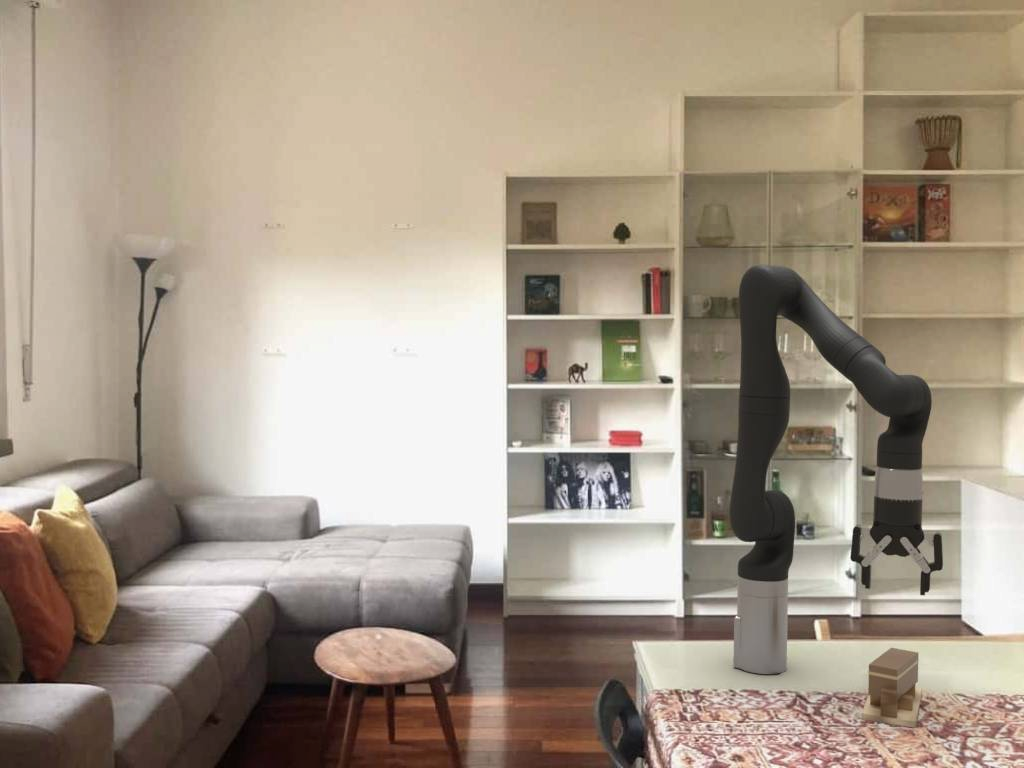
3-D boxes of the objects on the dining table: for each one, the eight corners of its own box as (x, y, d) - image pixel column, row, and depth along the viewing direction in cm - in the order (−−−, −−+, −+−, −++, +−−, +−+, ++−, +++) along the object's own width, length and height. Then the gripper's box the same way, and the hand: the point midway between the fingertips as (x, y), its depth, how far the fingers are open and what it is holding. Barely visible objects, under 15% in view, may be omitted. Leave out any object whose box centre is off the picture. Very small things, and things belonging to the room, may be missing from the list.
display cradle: (861, 719, 156) (862, 688, 156) (872, 685, 173) (873, 657, 172) (915, 727, 153) (916, 696, 153) (921, 692, 169) (922, 664, 169)
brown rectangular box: (867, 694, 159) (868, 664, 159) (890, 675, 169) (891, 647, 169) (896, 700, 156) (897, 670, 156) (918, 681, 166) (918, 652, 166)
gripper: (850, 494, 161) (847, 591, 162) (944, 501, 155) (940, 601, 156) (855, 488, 168) (852, 581, 169) (945, 495, 162) (942, 591, 163)
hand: (895, 591), depth 162 cm, fingers open, 8 cm apart
